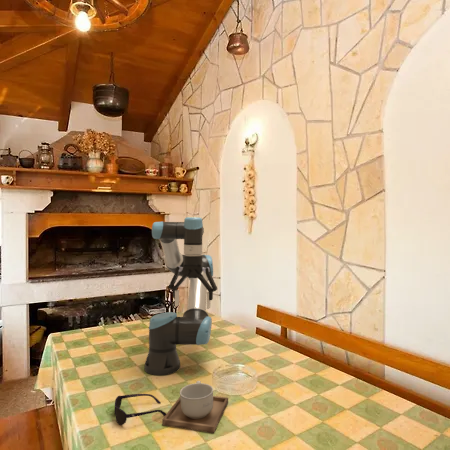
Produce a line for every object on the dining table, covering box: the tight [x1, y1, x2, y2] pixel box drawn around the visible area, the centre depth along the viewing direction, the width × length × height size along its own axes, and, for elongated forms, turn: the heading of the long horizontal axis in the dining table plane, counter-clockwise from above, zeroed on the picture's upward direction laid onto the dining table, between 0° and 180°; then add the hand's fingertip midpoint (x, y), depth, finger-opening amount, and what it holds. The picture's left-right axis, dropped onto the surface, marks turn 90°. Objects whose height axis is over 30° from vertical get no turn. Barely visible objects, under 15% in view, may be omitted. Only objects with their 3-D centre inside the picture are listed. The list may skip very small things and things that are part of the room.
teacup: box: [179, 380, 214, 419], centre depth 116 cm, size 14×11×8 cm
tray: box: [161, 395, 229, 434], centre depth 116 cm, size 17×19×2 cm
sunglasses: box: [114, 393, 167, 426], centre depth 116 cm, size 14×16×5 cm
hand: (192, 307), depth 144 cm, fingers open, 13 cm apart
